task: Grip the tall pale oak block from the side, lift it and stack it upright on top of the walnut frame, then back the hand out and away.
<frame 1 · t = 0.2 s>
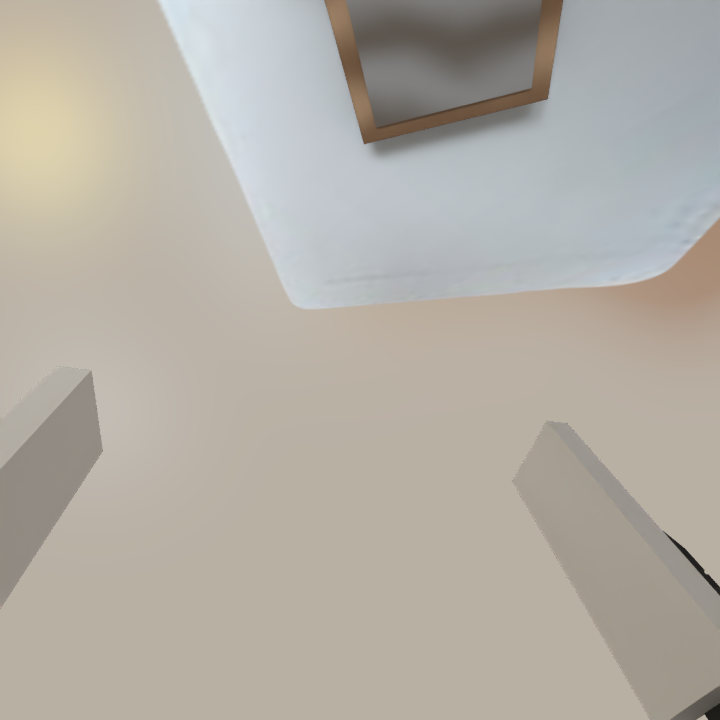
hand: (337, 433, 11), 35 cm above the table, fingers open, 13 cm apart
walnut frame: (441, 7, 30), on the table
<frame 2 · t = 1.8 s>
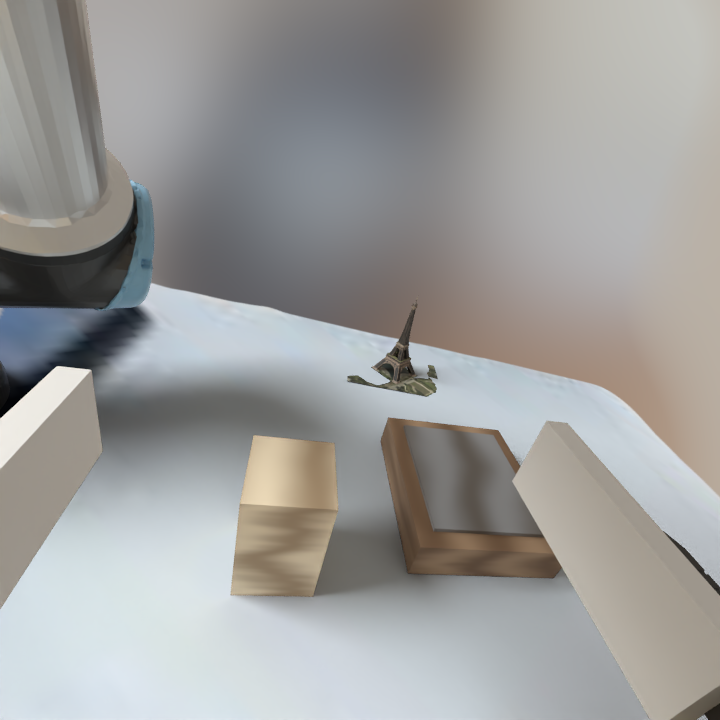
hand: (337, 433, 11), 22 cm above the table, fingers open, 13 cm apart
walnut frame: (455, 500, 41), on the table
eiffel tower figurine: (392, 376, 61), on the table
oak block: (276, 557, 31), on the table
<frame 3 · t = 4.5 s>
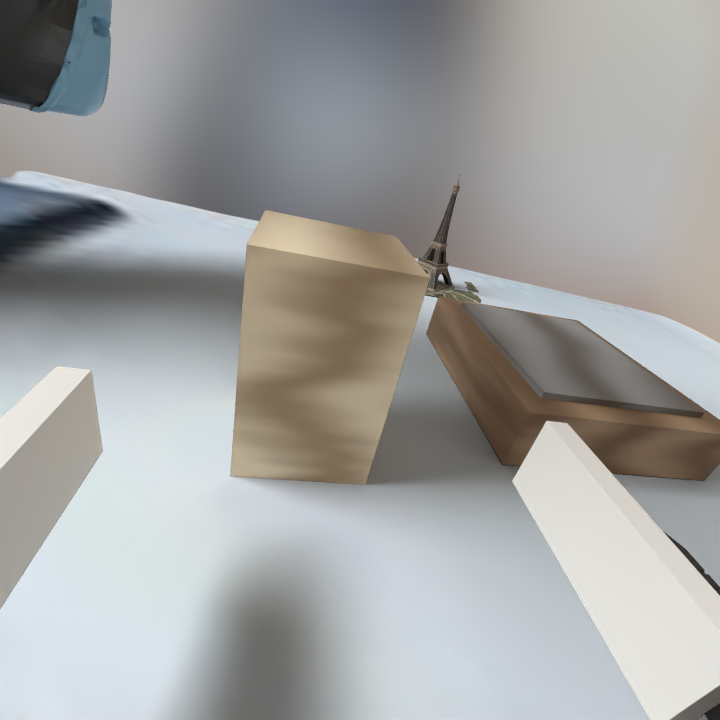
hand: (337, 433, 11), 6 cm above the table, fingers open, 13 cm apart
walnut frame: (539, 393, 29), on the table
eiffel tower figurine: (424, 289, 50), on the table
oak block: (301, 435, 20), on the table
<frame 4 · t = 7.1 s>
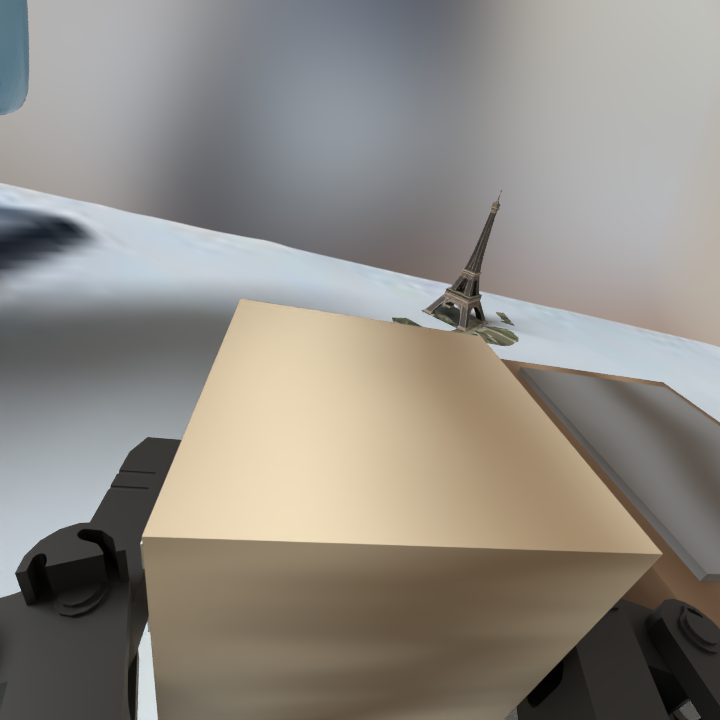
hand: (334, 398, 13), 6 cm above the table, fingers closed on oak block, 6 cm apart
walnut frame: (635, 502, 21), on the table
eiffel tower figurine: (452, 324, 41), on the table
oak block: (306, 662, 12), on the table, touching gripper
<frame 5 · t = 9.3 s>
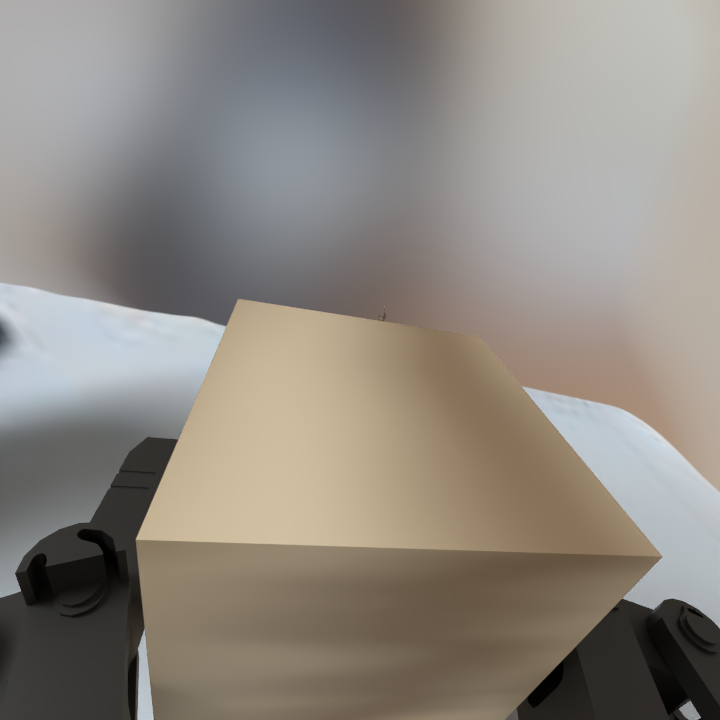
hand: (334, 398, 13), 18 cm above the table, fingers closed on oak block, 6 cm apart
oak block: (305, 663, 12), point 12 cm above the table, touching gripper
when the fingers open (11 cm above the table, at t = 11.8 s): oak block drops 1 cm, resting on walnut frame.
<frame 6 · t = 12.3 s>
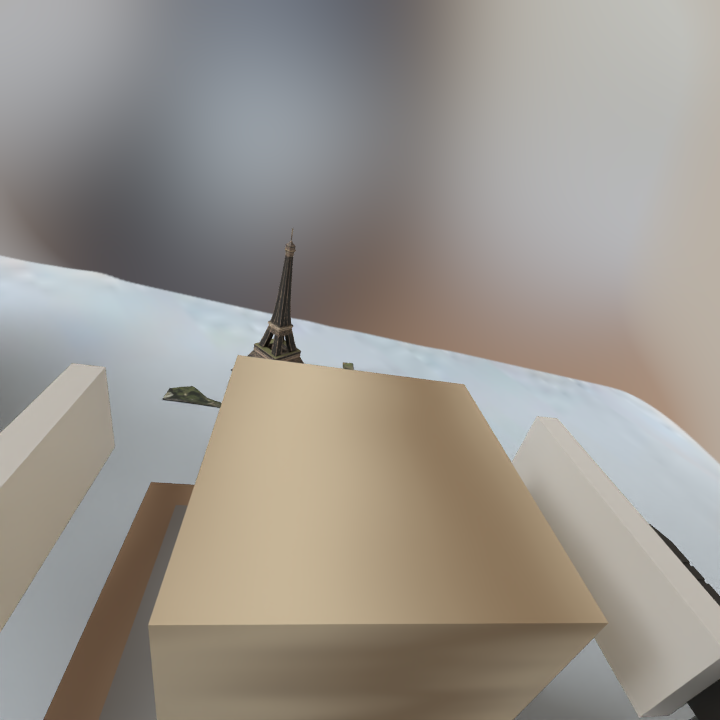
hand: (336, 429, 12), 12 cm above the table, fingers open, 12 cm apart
eiffel tower figurine: (270, 385, 34), on the table
oak block: (300, 687, 12), point 4 cm above the table, touching walnut frame
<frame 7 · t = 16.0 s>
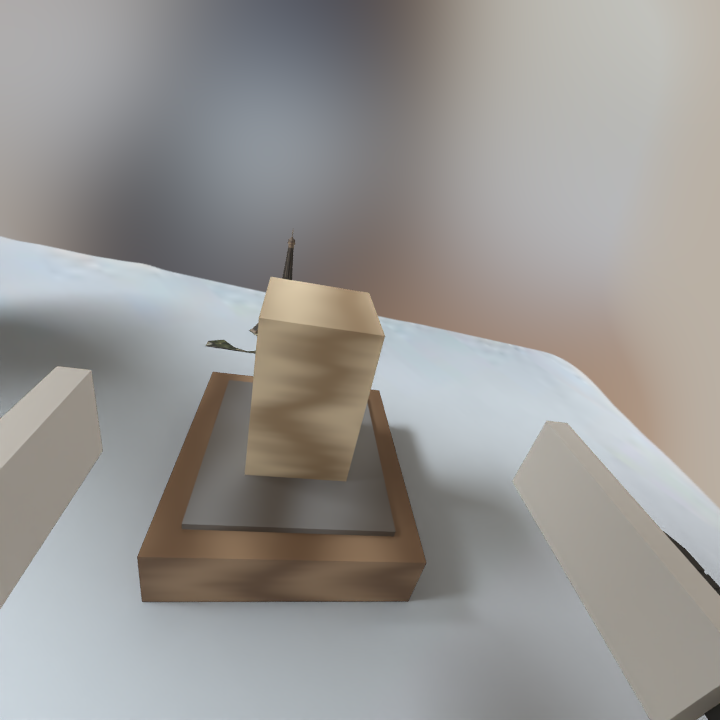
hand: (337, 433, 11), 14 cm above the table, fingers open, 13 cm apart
walnut frame: (290, 485, 27), on the table
eiffel tower figurine: (277, 341, 47), on the table
oak block: (298, 443, 26), point 4 cm above the table, touching walnut frame
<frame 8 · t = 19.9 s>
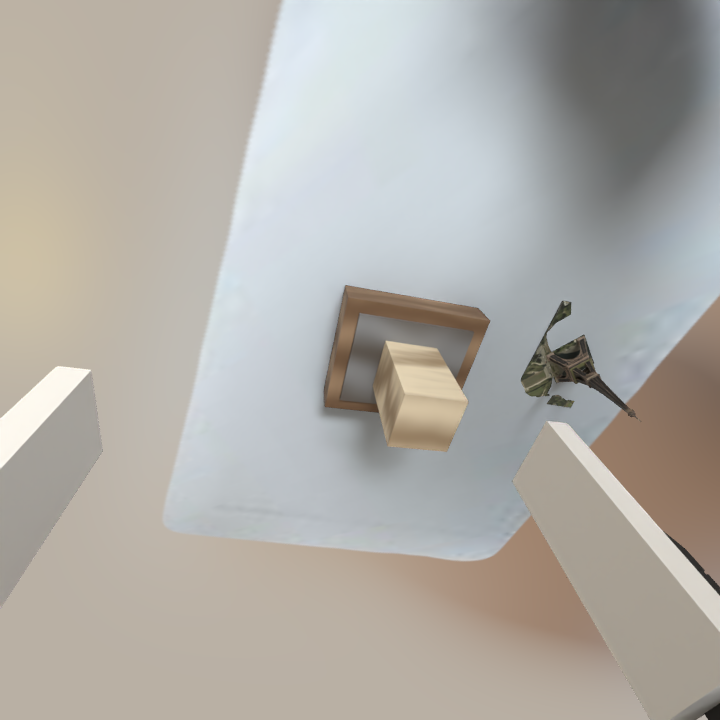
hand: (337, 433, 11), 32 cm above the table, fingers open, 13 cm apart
walnut frame: (398, 350, 47), on the table
eiffel tower figurine: (564, 355, 51), on the table
oak block: (404, 367, 44), point 4 cm above the table, touching walnut frame
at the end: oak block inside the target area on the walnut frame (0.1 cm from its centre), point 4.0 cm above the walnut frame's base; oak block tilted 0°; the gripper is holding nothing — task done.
